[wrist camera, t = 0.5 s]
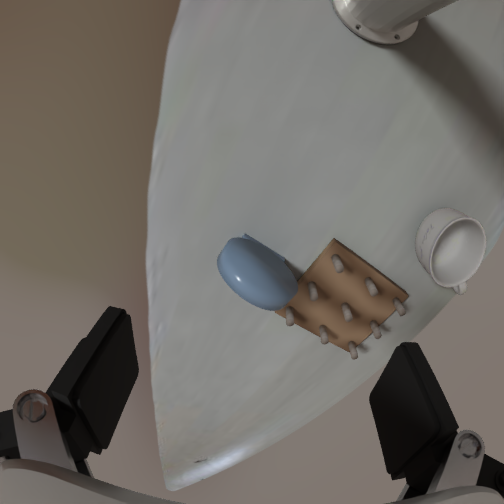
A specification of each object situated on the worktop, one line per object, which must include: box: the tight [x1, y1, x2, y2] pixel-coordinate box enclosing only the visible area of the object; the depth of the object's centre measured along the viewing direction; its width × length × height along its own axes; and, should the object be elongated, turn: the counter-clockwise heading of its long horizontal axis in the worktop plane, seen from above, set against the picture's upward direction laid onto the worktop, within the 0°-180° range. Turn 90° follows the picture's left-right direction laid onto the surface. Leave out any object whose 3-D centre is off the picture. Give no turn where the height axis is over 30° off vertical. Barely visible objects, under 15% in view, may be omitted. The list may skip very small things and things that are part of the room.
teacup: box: [415, 208, 486, 295], centre depth 38 cm, size 14×11×8 cm
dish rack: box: [275, 238, 408, 359], centre depth 45 cm, size 15×17×5 cm
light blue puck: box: [217, 234, 298, 311], centre depth 39 cm, size 2×11×12 cm, turn 57°
